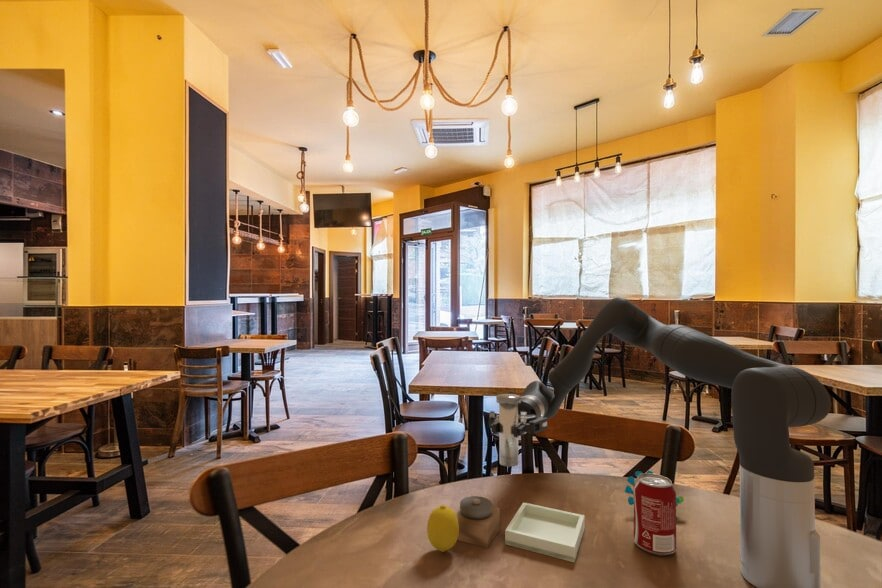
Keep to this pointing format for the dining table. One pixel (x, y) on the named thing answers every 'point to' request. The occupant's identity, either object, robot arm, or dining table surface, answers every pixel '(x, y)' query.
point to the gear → (629, 490)
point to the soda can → (655, 514)
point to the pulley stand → (477, 521)
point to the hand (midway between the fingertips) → (504, 430)
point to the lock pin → (508, 428)
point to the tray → (546, 531)
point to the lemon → (443, 528)
